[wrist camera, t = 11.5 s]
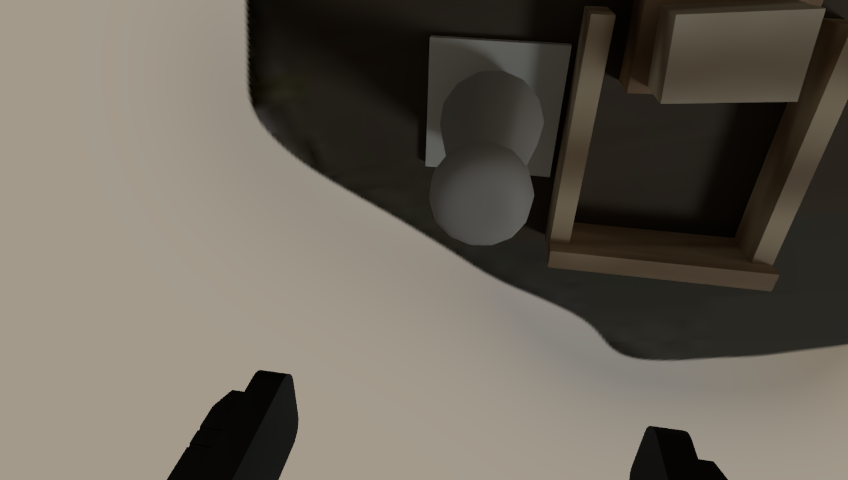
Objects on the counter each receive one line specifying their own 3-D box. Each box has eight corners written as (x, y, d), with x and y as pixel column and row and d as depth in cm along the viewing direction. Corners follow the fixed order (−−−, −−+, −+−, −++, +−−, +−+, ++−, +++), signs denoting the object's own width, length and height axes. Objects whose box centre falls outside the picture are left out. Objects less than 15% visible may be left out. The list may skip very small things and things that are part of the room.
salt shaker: (549, 143, 32) (565, 258, 21) (460, 164, 34) (432, 280, 23) (530, 48, 30) (537, 123, 19) (433, 75, 31) (388, 159, 20)
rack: (584, 5, 29) (593, 16, 25) (846, 19, 27) (892, 33, 24) (544, 234, 36) (547, 266, 33) (747, 255, 35) (771, 291, 31)
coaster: (431, 35, 31) (429, 37, 30) (570, 43, 30) (571, 45, 29) (426, 162, 35) (425, 166, 34) (549, 173, 34) (549, 177, 34)
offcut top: (660, 4, 26) (676, 14, 23) (794, -1, 25) (826, 8, 22) (647, 86, 28) (660, 103, 25) (771, 84, 27) (797, 101, 24)
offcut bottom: (635, -16, 28) (647, -10, 26) (797, -14, 27) (826, -7, 25) (618, 78, 31) (626, 92, 28) (764, 84, 30) (787, 99, 27)
